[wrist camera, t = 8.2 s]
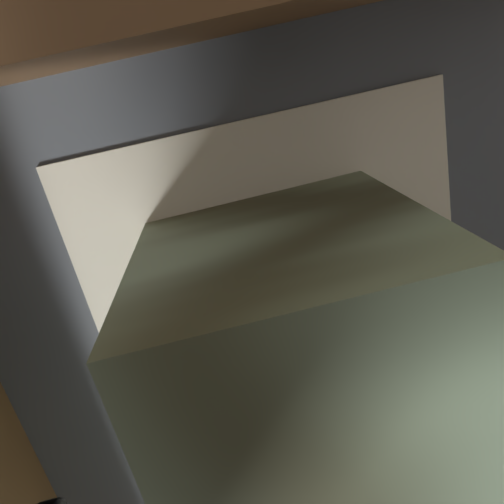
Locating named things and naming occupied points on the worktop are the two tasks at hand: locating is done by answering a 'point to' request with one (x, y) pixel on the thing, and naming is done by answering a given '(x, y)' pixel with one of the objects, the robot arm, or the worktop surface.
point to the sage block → (309, 353)
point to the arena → (203, 165)
